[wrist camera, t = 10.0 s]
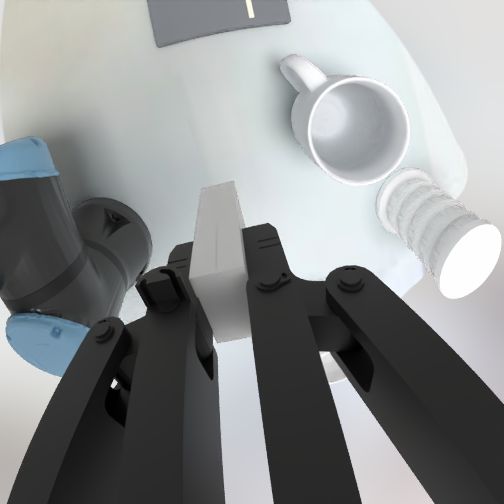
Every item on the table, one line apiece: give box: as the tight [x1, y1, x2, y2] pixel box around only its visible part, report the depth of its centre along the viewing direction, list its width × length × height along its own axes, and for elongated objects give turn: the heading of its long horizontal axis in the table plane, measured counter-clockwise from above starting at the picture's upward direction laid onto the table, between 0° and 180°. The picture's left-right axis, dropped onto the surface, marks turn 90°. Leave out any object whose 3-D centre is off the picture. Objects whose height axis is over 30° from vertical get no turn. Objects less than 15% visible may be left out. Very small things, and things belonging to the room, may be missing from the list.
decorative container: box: [376, 167, 501, 299], centre depth 36 cm, size 12×12×18 cm
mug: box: [280, 54, 410, 186], centre depth 30 cm, size 15×11×13 cm
